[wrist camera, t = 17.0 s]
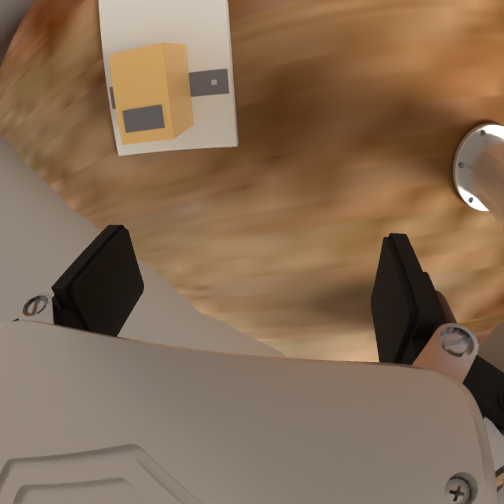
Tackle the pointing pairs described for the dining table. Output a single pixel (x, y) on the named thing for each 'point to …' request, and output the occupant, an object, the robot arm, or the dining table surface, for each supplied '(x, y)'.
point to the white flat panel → (198, 58)
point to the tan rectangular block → (152, 92)
